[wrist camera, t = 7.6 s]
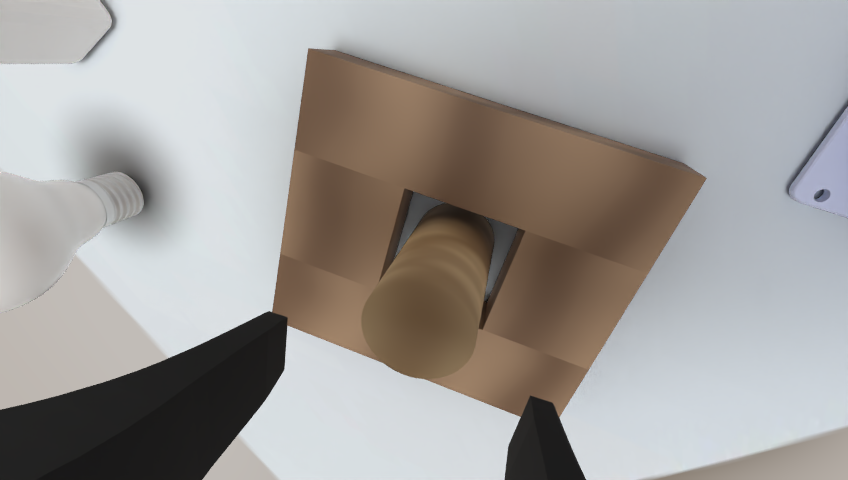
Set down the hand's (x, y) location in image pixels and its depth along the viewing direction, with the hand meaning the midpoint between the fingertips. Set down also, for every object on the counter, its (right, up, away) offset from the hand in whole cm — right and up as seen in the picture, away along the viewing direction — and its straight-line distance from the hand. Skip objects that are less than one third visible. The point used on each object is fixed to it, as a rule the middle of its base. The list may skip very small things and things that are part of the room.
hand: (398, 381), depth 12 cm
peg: (+2, +4, +9) cm, 10 cm away
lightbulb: (-17, +7, +13) cm, 22 cm away
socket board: (+2, +4, +9) cm, 10 cm away
